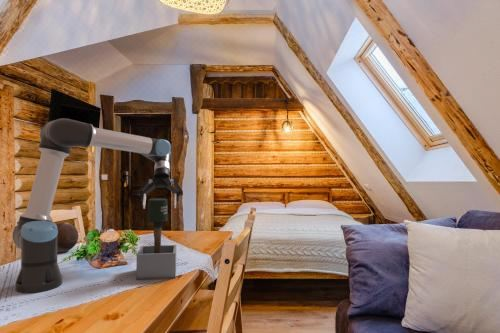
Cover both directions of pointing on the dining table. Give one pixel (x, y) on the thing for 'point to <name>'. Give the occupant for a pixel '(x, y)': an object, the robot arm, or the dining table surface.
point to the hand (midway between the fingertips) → (159, 206)
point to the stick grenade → (157, 219)
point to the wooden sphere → (66, 237)
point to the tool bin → (156, 263)
